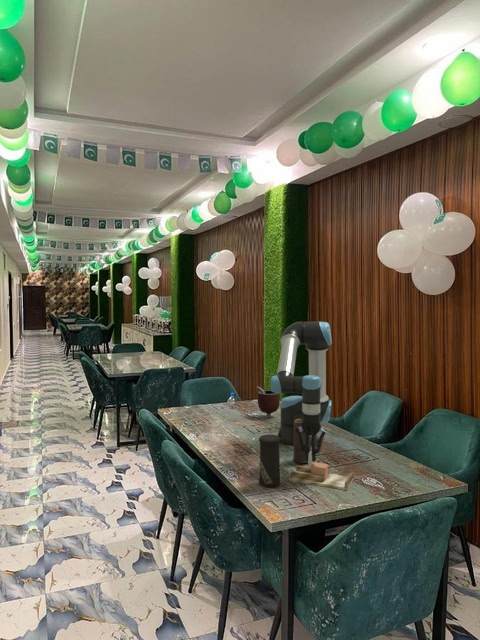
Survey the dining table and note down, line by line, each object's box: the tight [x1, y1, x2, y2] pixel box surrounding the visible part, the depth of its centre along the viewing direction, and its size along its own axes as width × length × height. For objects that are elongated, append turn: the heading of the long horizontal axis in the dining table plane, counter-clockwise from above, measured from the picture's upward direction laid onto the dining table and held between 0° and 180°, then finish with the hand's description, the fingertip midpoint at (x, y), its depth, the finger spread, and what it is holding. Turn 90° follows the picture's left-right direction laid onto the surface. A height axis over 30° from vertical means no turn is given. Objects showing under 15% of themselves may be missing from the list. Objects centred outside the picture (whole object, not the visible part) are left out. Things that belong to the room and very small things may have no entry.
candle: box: [293, 419, 308, 464], centre depth 213 cm, size 8×7×20 cm
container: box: [258, 434, 281, 489], centre depth 188 cm, size 9×9×20 cm
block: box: [311, 461, 329, 480], centre depth 193 cm, size 6×5×5 cm
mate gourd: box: [256, 386, 281, 422], centre depth 291 cm, size 16×14×20 cm
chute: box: [288, 464, 354, 491], centre depth 192 cm, size 24×12×3 cm, turn 65°
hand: (310, 468), depth 194 cm, fingers closed
